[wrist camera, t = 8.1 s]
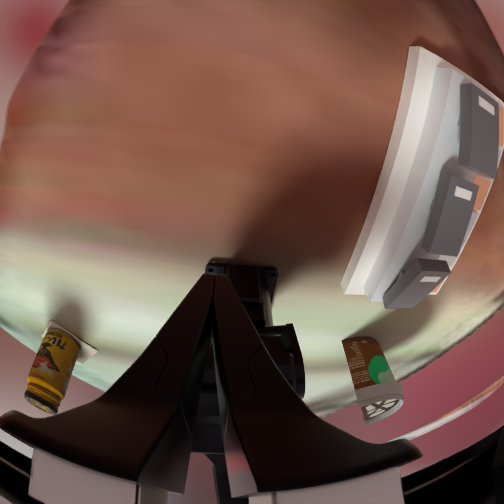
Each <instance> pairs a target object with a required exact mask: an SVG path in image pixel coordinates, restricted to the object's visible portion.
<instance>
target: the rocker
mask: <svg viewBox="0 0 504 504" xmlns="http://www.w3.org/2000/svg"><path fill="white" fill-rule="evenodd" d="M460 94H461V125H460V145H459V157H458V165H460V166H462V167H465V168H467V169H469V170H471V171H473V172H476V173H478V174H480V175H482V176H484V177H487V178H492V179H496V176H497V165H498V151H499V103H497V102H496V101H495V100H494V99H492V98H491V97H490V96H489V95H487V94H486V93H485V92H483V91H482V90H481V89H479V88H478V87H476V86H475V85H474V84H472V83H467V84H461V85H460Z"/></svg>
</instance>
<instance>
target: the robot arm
mask: <svg viewBox="0 0 504 504" xmlns="http://www.w3.org/2000/svg"><path fill="white" fill-rule="evenodd" d="M209 268H213V269H212V270H211V269H209ZM272 272H274V273H273V274H271V273H272ZM277 277H278V270H277V269H276V268H274V267H261V266H247V265H232V264H219V263H208V264H207V265H206V268H205V274H203V275H202V276H201V277H200V279H199V280H198V281H197V282H196V284H195V285H194V286H193V288H192V289H191V290H190V291H189V293H188V294H187V295H186V297H185V298H184V299H183V301H182V302H181V303H180V304H179V306H178V307H177V308H176V310H175V311H174V312H173V314H172V315H171V316H170V318H169V319H168V320H167V322H166V323H165V324H164V326H163V327H162V328H161V330H160V331H159V332H158V334H157V335H156V337H155V338H154V339H153V340H152V341H151V343H150V344H149V345H148V347H147V348H146V349H145V350H144V352H143V353H142V354H141V355H140V357H139V358H138V359H137V360H136V361H135V362H134V363H133V364H132V365H131V366H130V367H129V368H128V369H127V371H126V372H125V373H124V374H123V375H122V376H121V377H120V378H119V379H118V380H117V381H116V382H115V383H114V384H113V385H112V386H111V387H110V388H109V389H108V390H107V391H106V392H105V393H104V394H103V395H101V396H100V397H99V398H97V399H96V400H94V401H92V402H89V403H87V404H84V405H81V406H79V407H76V408H73V409H70V410H68V411H65V412H62V413H59V414H56V415H54V416H50V417H46V418H32V417H29V416H27V415H25V414H23V413H21V412H19V411H16V410H11V411H9V412H7V413H5V414H3V415H2V416H1V417H0V428H1V429H2V430H4V431H5V432H7V433H8V434H10V435H11V436H13V437H15V438H16V439H18V440H20V441H21V442H23V443H25V444H27V445H28V446H30V447H32V448H34V450H33V455H32V459H31V458H29V457H27V456H25V455H23V454H22V453H20V452H18V451H16V450H15V449H13V448H11V447H10V446H8V445H6V444H5V443H3V442H1V441H0V504H167V502H168V501H167V500H168V493H174V494H184V491H185V484H186V477H187V471H188V465H189V459H190V453H202V454H203V455H204V456H205V457H206V458H207V459H208V460H209V462H210V463H211V464H212V467H213V473H214V481H215V489H216V497H217V503H218V504H504V425H502V426H501V427H500V428H498V429H496V430H495V431H493V432H492V433H490V434H489V435H487V436H485V437H484V438H482V439H480V440H479V441H477V442H475V443H473V444H472V445H470V446H468V447H466V448H464V449H463V450H461V451H459V452H457V453H455V454H453V455H451V456H449V457H447V458H445V459H443V460H441V461H438V462H436V463H434V464H432V465H430V466H428V467H426V468H423V469H421V470H419V471H417V472H414V473H412V474H409V475H407V476H404V477H402V478H401V474H400V470H399V467H400V466H402V465H405V464H407V463H410V462H412V461H414V460H416V459H419V458H421V457H422V456H423V454H422V452H421V451H420V450H419V448H418V447H416V446H415V445H414V444H413V443H411V442H410V441H408V440H407V439H398V440H394V441H391V442H388V443H383V444H373V443H368V442H365V441H363V440H360V439H358V438H356V437H354V436H352V435H350V434H349V433H347V432H345V431H343V430H341V429H339V428H337V427H335V426H333V425H332V424H330V423H328V422H326V421H324V420H322V419H321V418H319V417H318V416H317V415H315V414H314V413H313V412H312V411H311V410H310V409H309V408H308V407H307V405H306V404H305V403H304V402H303V401H302V398H304V394H305V371H304V363H303V358H302V354H301V350H300V347H299V343H298V340H297V336H296V333H295V330H294V326H293V323H291V324H286V325H281V326H273V320H272V311H271V302H272V298H273V294H274V290H275V286H276V282H277Z"/></svg>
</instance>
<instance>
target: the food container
mask: <svg viewBox="0 0 504 504" xmlns="http://www.w3.org/2000/svg"><path fill="white" fill-rule="evenodd" d="M342 344H343V348H344V351H345V355H346V358H347V362H348V366H349V369H350V373H351V377H352V381H353V384H354V388H355V393H356V396H357V400H358V404H359V407H360V408H361V411H362V416H363V419H364V424H365V426H366V425H370V424H372V423H375V422H377V421H379V420H382V419H384V418H386V417H387V416H389V415H391V414H393V413H394V412H395V411H397V410H398V409H399V408H400V407H401V406H402V405H403V399H404V391H403V385H402V384H400V383H396V381H395V379H394V376H393V374H392V372H391V370H390V367H389V365H388V363H387V361H386V358H385V356H384V354H383V352H382V350H381V348H380V345H379V343H378V341H377V340H376V339H374V338H372V337H364V336H363V337H354V338H349V339H346V340H342Z"/></svg>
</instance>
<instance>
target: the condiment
mask: <svg viewBox="0 0 504 504" xmlns="http://www.w3.org/2000/svg"><path fill="white" fill-rule="evenodd" d="M42 337H43V338H44V339H43V341H42V344H41V346H40V348H39V350H38V353H37V355H36V357H35V360H34V362H33V365H32V368H31V370H30V372H29V375H28V382H29V384H28V385H27V389H26V392H25V398H26V400H27V401H29V402H30V403H31V404H32V405H34V406H35V407H37V408H39V409H41V410H43V411H45V412H47V413H50V414H57V412H58V407H59V406H60V401H61V400H63V398H64V396H65V393H66V390H67V387H68V383H69V380H70V377H71V374H72V371H73V368H74V366H75V362H76V360H77V361H79V362H80V363H82V364H83V363H84V362H85V361H86V360H88V359H89V358H90V357H91V356H93V355H94V354H95V353H97V352H98V351H97V350H96V349H94V348H92V347H91V346H89V345H87V344H86V343H84V342H83V341H81V340H80V339H78V338H77V337H76V336H74V335H73V334H72V333H70V332H68V331H67V330H66V329H64V328H63V327H61V326H60V325H58V324H57V323H56V322H54V321H52V320H51V321H50V322H49V324H48V326H47V327H46V329H45V331H44V332H43V334H42ZM81 346H82V347H83V348H82V347H81Z"/></svg>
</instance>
